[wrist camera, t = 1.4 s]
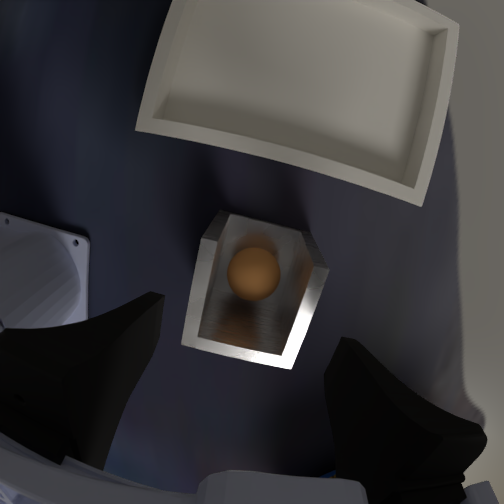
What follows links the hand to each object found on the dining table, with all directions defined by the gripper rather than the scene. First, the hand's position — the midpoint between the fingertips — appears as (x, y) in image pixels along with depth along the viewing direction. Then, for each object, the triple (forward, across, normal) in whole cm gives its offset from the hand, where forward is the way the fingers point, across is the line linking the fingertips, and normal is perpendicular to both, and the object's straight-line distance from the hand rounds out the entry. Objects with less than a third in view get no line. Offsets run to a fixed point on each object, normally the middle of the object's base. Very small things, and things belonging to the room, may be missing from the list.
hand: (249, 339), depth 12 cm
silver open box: (+8, 0, 0) cm, 8 cm away
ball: (+6, 0, 0) cm, 6 cm away
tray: (+8, 0, -12) cm, 15 cm away
